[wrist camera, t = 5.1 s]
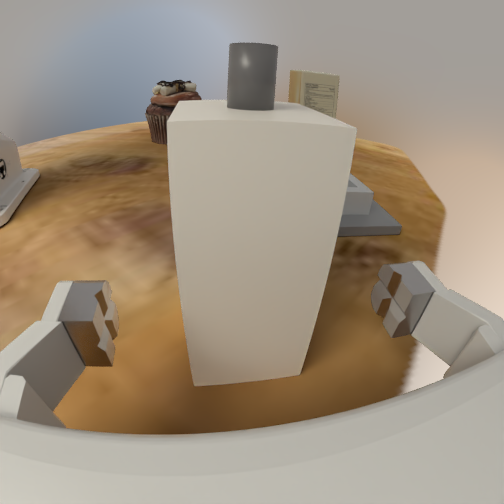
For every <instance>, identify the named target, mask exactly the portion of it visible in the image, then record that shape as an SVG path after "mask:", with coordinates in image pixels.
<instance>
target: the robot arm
mask: <svg viewBox="0 0 504 504" xmlns="http://www.w3.org/2000/svg"><path fill="white" fill-rule="evenodd" d="M39 176H40V174H39V170H38V169H34V168H27V169H22V166H21V162H20V157H19V153H18V149H17V146H16V144H15V142H14V141H13V139H11V138H9V137H8V136H6V135H4V134H3V133H1V132H0V226H2V225H3V224H5V223H6V222H7V221H8V220H9V218H10V217H11V215H12V214H13V212H14V211H15V209H16V208H17V206H18V205H19V204H20V202H21V201H22V199H23V198H24V196H25V195H26V194H27V192H28V191H29V189H30V188H31V187H32V185H33V184H34V183H35V181H36V180H37V179H38V177H39ZM378 277H379V279H380V280H379V281H378V282H377V283H376V284H375V285H374V287H373V290H372V293H371V303H372V306H373V309H374V310H375V312H376V314H378V315H379V316H381V317H383V323H382V324H383V325H384V327H385V329H386V330H387V332H388V333H389V335H390V337H391V338H395V337H400V336H405V335H409V334H412V335H411V336H413V337H414V338H415V339H417V340H418V341H419V342H420V343H422V344H423V345H424V346H426V347H427V348H428V349H429V350H431V351H432V352H433V353H434V354H436V355H437V356H438V357H439V358H441V359H442V360H443V361H444V362H446V363H447V364H448V365H449V366H450V368H449V369H448V370H447V371H446V373H445V374H444V377H443V378H444V379H442V380H440V381H437V382H435V383H432V384H430V385H427V386H425V387H422V388H419V389H416V390H414V391H411V392H408V393H405V394H402V395H399V396H396V397H393V398H390V399H387V400H384V401H380V402H377V403H374V404H370V405H367V406H363V407H360V408H356V409H352V410H348V411H344V412H340V413H336V414H332V415H328V416H323V417H319V418H314V419H309V420H304V421H299V422H293V423H288V424H282V425H276V426H269V427H262V428H254V429H246V430H237V431H227V432H215V433H199V434H168V435H152V434H122V433H106V432H95V431H85V430H76V429H69V428H66V426H65V425H64V423H63V422H62V421H61V420H60V419H59V418H58V417H57V416H56V415H55V414H54V413H53V411H54V409H55V408H56V406H57V405H58V404H59V402H60V401H61V400H62V398H63V397H64V396H65V394H66V393H67V392H68V390H69V389H70V388H71V386H72V385H73V384H74V382H75V381H76V380H77V378H78V377H79V376H80V375H81V373H82V372H83V371H84V369H85V366H99V367H112V366H113V360H114V354H115V345H114V343H113V340H114V339H115V338H116V337H117V336H118V329H119V317H118V311H117V307H116V304H115V303H114V302H113V301H112V300H111V299H110V298H111V294H112V290H111V287H110V284H109V282H108V281H106V280H98V281H60V282H58V283H57V285H56V287H55V289H54V291H53V293H52V296H51V298H50V300H49V302H48V305H47V307H46V309H45V312H44V314H43V317H42V319H41V321H36V322H35V323H33V324H32V325H31V326H30V327H29V328H27V329H26V330H25V331H24V332H23V333H22V334H20V335H19V336H18V337H17V338H16V339H15V340H13V341H12V342H11V343H10V344H9V345H8V346H7V347H6V348H4V349H3V350H2V351H1V352H0V504H504V321H503V319H502V318H501V317H499V316H497V315H496V314H494V313H492V312H491V311H489V310H487V309H485V308H484V307H482V306H480V305H478V304H476V303H475V302H473V301H471V300H469V299H467V298H466V297H464V296H462V295H460V294H458V293H457V292H455V291H453V290H451V289H449V290H447V288H446V287H445V286H444V285H443V284H442V283H441V281H440V280H439V279H438V278H437V277H436V276H435V275H434V274H433V272H432V271H431V270H430V269H429V268H428V267H427V266H426V265H425V264H424V262H421V261H411V262H407V263H395V264H384V265H383V266H382V267H381V268H380V270H379V273H378Z"/></svg>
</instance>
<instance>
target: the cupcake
mask: <svg viewBox="0 0 504 504" xmlns="http://www.w3.org/2000/svg"><path fill="white" fill-rule="evenodd" d="M157 84H158V85H157V86H155V87H154V88H153V91H152V92H153V94H154V96H153V97H152V98H151V104H150V105H149V106H148V107H147V110H146V113H145V115H146V118H147V121H148V124H149V128H150V133H151V138H152V142H155V143H158V144H167V121H168V119H169V117H170V115H171V114H172V112H173V110H174V109H175V107H176V105H177V104H178V102H179V101H189V100H201V97H200V96H199V95H198V93H197V92H196V91H195V90H196V84H194V83H191V81H187V82H184V81H182V80H175V81H173V82H166V81H160V82H159V83H157Z"/></svg>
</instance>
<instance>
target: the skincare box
mask: <svg viewBox="0 0 504 504" xmlns="http://www.w3.org/2000/svg"><path fill="white" fill-rule="evenodd" d="M338 87H339V76H338V75H334V74H327V73H320V72H312V71H302V70H290V85H289V101H288V102H289V103H297V104H300V105H303V106H305V107H308V108H310V109H313V110H316V111H318V112H320V113H323V114H325V115H328V116H330V117H332V118H335V119H336V109H337V99H338Z"/></svg>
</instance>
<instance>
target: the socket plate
mask: <svg viewBox="0 0 504 504" xmlns="http://www.w3.org/2000/svg"><path fill="white" fill-rule="evenodd" d="M373 195H374V192H373V191H371V190H370V189H369V188H368V187H367V186H365V185H364V184H363V183H362V182H360V181H359V180H358V179H357V178H355V177H354V176H353V175H352V174H350V175H349V180H348V186H347V191H346V196H345V201H344V206H343V211H342V216H341V221H340V226H339V230H338V235H337V236H365V235H397V234H400V231H401V228H402V226H401V225H400V224H399V223H398V222H397V221H396V220H395V219H394V218H393V217H392V216H391V215H390V214H389V213H388V212H386V211H385V210H384V209H383V208H382V207H381V206H380V205H379V204H378V203H376V202H375V201H374V200H373Z"/></svg>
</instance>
